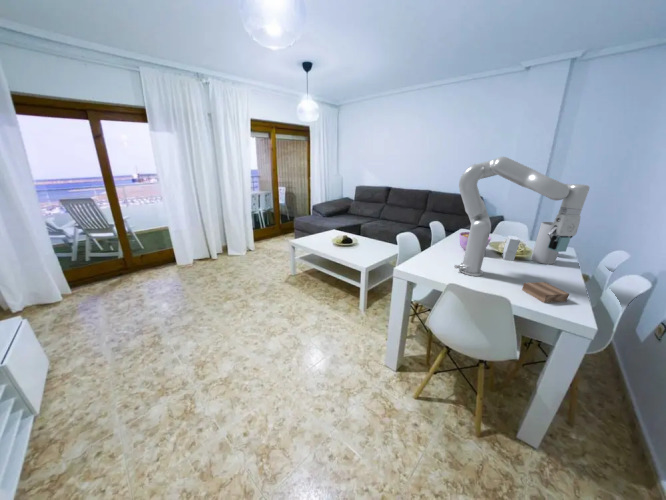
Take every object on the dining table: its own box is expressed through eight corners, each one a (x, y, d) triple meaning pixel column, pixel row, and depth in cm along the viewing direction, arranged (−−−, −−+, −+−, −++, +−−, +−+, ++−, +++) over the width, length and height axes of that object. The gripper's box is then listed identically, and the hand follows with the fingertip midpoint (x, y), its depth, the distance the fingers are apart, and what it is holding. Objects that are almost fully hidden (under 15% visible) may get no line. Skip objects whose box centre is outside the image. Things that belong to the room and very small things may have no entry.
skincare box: (501, 255, 173) (507, 235, 168) (511, 257, 171) (517, 236, 166) (503, 259, 166) (509, 238, 161) (514, 261, 163) (520, 239, 158)
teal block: (557, 251, 121) (561, 237, 118) (547, 248, 125) (551, 234, 123) (565, 251, 122) (570, 237, 119) (555, 248, 126) (560, 234, 124)
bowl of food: (493, 253, 178) (497, 237, 174) (477, 258, 168) (481, 241, 164) (466, 245, 194) (469, 230, 190) (450, 249, 184) (453, 234, 180)
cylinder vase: (531, 261, 163) (542, 224, 155) (529, 256, 173) (540, 220, 165) (555, 266, 157) (569, 227, 149) (553, 260, 167) (565, 223, 158)
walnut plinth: (543, 302, 115) (546, 295, 113) (521, 290, 126) (524, 282, 125) (566, 301, 116) (569, 293, 115) (542, 289, 128) (545, 281, 126)
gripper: (562, 213, 112) (549, 251, 118) (593, 213, 115) (579, 250, 121) (546, 210, 119) (535, 246, 125) (576, 210, 122) (563, 245, 128)
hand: (556, 247), depth 123 cm, fingers closed on teal block, 5 cm apart
